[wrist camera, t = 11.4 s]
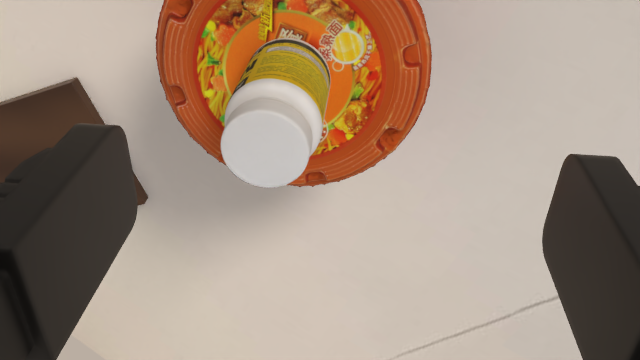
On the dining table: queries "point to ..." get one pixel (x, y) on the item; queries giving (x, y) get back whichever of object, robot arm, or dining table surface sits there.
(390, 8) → the food container
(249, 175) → the supplement bottle
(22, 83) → the dining table surface
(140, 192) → the plate
